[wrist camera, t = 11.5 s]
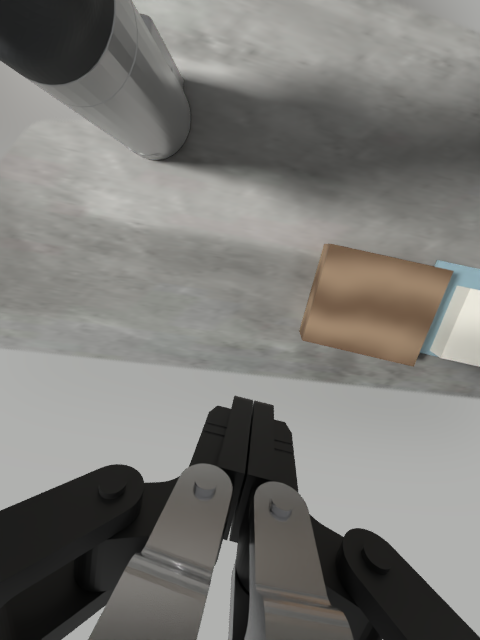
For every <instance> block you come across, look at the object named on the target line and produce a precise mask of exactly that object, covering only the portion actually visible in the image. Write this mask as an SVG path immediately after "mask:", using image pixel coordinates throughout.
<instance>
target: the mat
mask: <svg viewBox="0 0 480 640" xmlns="http://www.w3.org/2000/svg"><path fill="white" fill-rule="evenodd" d="M435 267H438V268H443V269H447V270H452V271H454V272H453V274H452V276H451V279H450V281H449V283H448V286H447V288H446V291H445V293H444V295H443V298H442V300H441V303H440V305H439V307H438V310H437V312H436V314H435V317H434V319H433V322H432V324H431V326H430V329H429V331H428V333H427V336H426V338H425V341H424V343H423V345H422V348H421V350H420V352H419V353H424V354H428V355H432V356H437V355H435V354H434V353H432V352H431V351H430V348H431V346H432V344H433V341H434V339H435V337H436V334H437V332H438V329H439V327H440V325H441V322H442V320H443V317H444V315H445V313H446V310H447V308H448V305H449V303H450V301H451V298H452V296H453V294H454V291H455V289H456V286H462V287H467V288H471V289H476V290H480V269H476V268H471V267H467V266H462V265H458V264H453V263H448V262H444V261H439V260H437V262H436V264H435ZM437 357H438V356H437Z"/></svg>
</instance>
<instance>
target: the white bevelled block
mask: <svg viewBox="0 0 480 640" xmlns="http://www.w3.org/2000/svg"><path fill="white" fill-rule="evenodd" d="M430 351H431V352H432V353H434V354H435V355H437V356H438V357H440V358H443V359H448V360H452V361H456V362H461V363H465V364H470V365H474V366H479V367H480V290H476V289H471V288H467V287H462V286H456V289H455V291H454V294H453V296H452V298H451V301H450V303H449V305H448V308H447V310H446V313H445V315H444V317H443V320H442V322H441V325H440V327H439V329H438V332H437V334H436V337H435V339H434V341H433V344H432V346H431V348H430Z"/></svg>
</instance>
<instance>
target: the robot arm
mask: <svg viewBox="0 0 480 640" xmlns="http://www.w3.org/2000/svg"><path fill="white" fill-rule="evenodd" d="M0 61H2V62H3V63H5V64H6V65H8V66H9V67H11V68H12V69H14V70H15V71H16V72H18V73H19V74H21V75H22V76H24V77H25V78H27V79H28V80H30V81H31V82H33V83H34V84H35V85H37V86H38V87H40V88H41V89H43V90H44V91H46V92H47V93H49V94H50V95H51V96H53V97H54V98H56V99H57V100H59V101H60V102H62V103H63V104H65V105H66V106H68V107H69V108H71V109H72V110H74V111H75V112H76V113H78V114H79V115H81V116H82V117H84V118H85V119H87V120H88V121H89V122H91V123H92V124H94V125H95V126H97V127H98V128H100V129H101V130H103V131H104V132H106V133H107V134H108V135H110V136H111V137H113V138H114V139H116V140H117V141H119V142H120V143H122V144H123V145H124V146H125V147H127V148H128V149H130V150H131V151H133V152H134V153H136V154H138V155H140V156H141V157H144V158H147V159H151V160H160V159H165V158H167V157H170V156H172V155H173V154H174V153H176V152H177V151H178V150H179V149H180V148H181V146H182V145H183V144H184V142H185V140H186V138H187V136H188V132H189V129H190V122H191V116H190V108H189V103H188V100H187V98H186V96H185V94H184V91H183V83H184V80H183V78H182V76H181V74H180V72H179V70H178V68H177V66H176V64H175V62H174V61H173V59H172V57H171V55H170V53H169V51H168V49H167V47H166V45H165V43H164V41H163V40H162V38H161V36H160V34H159V32H158V30H157V28H156V26H155V24H154V22H153V21H152V19H151V18H150V17H149V16H147V15H145V14H140V13H139V12H138V11H137V9H136V7H135V5H134V4H133V2H132V0H0ZM252 406H253V407H252ZM231 523H232V525H231ZM230 527H231V533H230V541H233V542H237V543H238V547H237V556H236V561H235V564H234V568H233V571H232V578H231V598H230V599H231V600H230V618H229V637H228V640H382V639H383V640H480V637H479V636H478V635H477V634H476V633H475V632H474V631H473V630H472V629H471V628H470V627H469V626H468V625H467V624H466V623H465V622H464V621H463V620H462V619H461V618H460V617H459V616H458V615H457V614H456V613H455V612H454V610H453V609H452V608H451V607H450V606H449V605H448V604H447V603H446V602H445V601H444V600H443V599H442V598H441V597H440V596H439V595H438V594H437V593H436V592H435V591H434V590H433V589H432V588H431V587H430V586H429V585H428V584H427V583H426V581H425V580H424V579H423V578H422V577H421V576H420V575H419V574H418V573H417V572H416V571H415V570H414V569H413V568H412V567H411V566H410V565H409V564H408V563H407V562H406V561H405V560H404V559H403V558H402V557H401V556H400V555H399V554H398V553H397V551H396V550H395V549H394V548H393V547H392V546H391V545H390V544H389V543H388V542H386V541H385V540H384V539H382V538H381V537H380V536H378V535H377V534H375V533H373V532H371V531H368V530H365V529H360V528H356V529H351V530H349V531H348V532H347V533H346V534H345V536H344V537H342V536H341V535H339V534H337V533H336V532H334V531H332V530H330V529H329V528H327V527H325V526H324V525H322V524H321V523H319V522H318V521H317V520H315V519H314V518H313V517H312V516H311V515H310V514H309V511H308V507H307V505H306V503H305V501H304V499H303V498H302V497H301V495H300V494H299V493H298V486H297V477H296V468H295V459H294V450H293V441H292V433H291V431H290V430H289V428H288V426H287V425H286V423H285V422H281V421H277V420H274V406H273V405H270V404H266V403H262V402H258V401H254V403H253V400H250V399H245V398H242V397H238V396H234V400H233V404H232V409H229V408H225V407H221V406H216V407H215V408H214V409H213V410H212V411H210V412H209V414H208V417H207V420H206V422H205V425H204V427H203V431H202V433H201V436H200V438H199V441H198V444H197V447H196V449H195V452H194V455H193V457H192V460H191V463H190V465H189V467H188V468H187V469H185V470H184V471H183V472H182V474H181V475H180V476H179V477H178V478H175V479H173V480H170V481H166V482H156V483H144V481H143V478H142V476H141V474H140V473H139V472H138V471H137V470H135V469H134V468H132V467H130V466H127V465H117V464H116V465H109V466H105V467H103V468H100V469H98V470H95V471H93V472H90V473H88V474H86V475H84V476H81V477H79V478H76V479H74V480H72V481H69V482H67V483H65V484H62V485H60V486H58V487H55V488H53V489H50V490H48V491H46V492H44V493H41V494H39V495H36V496H34V497H32V498H29V499H27V500H25V501H22V502H20V503H17V504H15V505H13V506H11V507H8V508H6V509H3V510H1V511H0V640H61V639H63V638H64V637H65V636H66V635H68V634H69V633H70V632H72V631H73V630H74V629H75V628H77V627H78V626H79V625H81V624H82V623H83V622H84V621H86V620H87V619H88V618H90V617H91V616H92V615H94V614H95V613H96V612H97V611H99V610H100V609H101V608H102V607H104V606H105V605H106V604H107V605H106V607H105V608H104V610H103V612H102V614H101V616H100V618H99V620H98V622H97V624H96V626H95V627H94V629H93V631H92V633H91V635H90V637H89V639H88V640H196V639H197V635H198V631H199V627H200V623H201V619H202V615H203V611H204V606H205V603H206V599H207V595H208V590H209V586H210V582H211V577H212V573H213V569H214V566H215V564H216V562H217V559H218V555H219V552H220V548H221V544H222V541H223V539H225V540H227V538H228V535H229V531H230Z"/></svg>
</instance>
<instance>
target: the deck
mask: <svg viewBox="0 0 480 640" xmlns="http://www.w3.org/2000/svg"><path fill="white" fill-rule="evenodd" d="M453 272H454V271H452V270H447V269H443V268H438V267H434V266H429V265H425V264H420V263H416V262H411V261H406V260H402V259H397V258H393V257H388V256H384V255H379V254H375V253H370V252H365V251H361V250H356V249H352V248H347V247H343V246H338V245H334V244H324V247H323V250H322V254H321V257H320V261H319V264H318V268H317V271H316V275H315V278H314V282H313V285H312V289H311V292H310V296H309V299H308V303H307V306H306V310H305V313H304V317H303V320H302V324H301V327H300V331H299V332H300V334H301V337H302V340H303V341H307V342H312V343H316V344H320V345H324V346H329V347H333V348H337V349H341V350H346V351H350V352H354V353H358V354H362V355H367V356H371V357H375V358H379V359H384V360H388V361H392V362H396V363H401V364H405V365H409V366H413V367H414V364H415V362H416V360H417V357H418V355H419V352H420V350H421V348H422V345H423V343H424V341H425V338H426V336H427V333H428V331H429V329H430V326H431V324H432V322H433V319H434V317H435V314H436V312H437V310H438V307H439V305H440V303H441V300H442V298H443V295H444V293H445V291H446V288H447V286H448V283H449V281H450V279H451V276H452V274H453Z"/></svg>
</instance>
